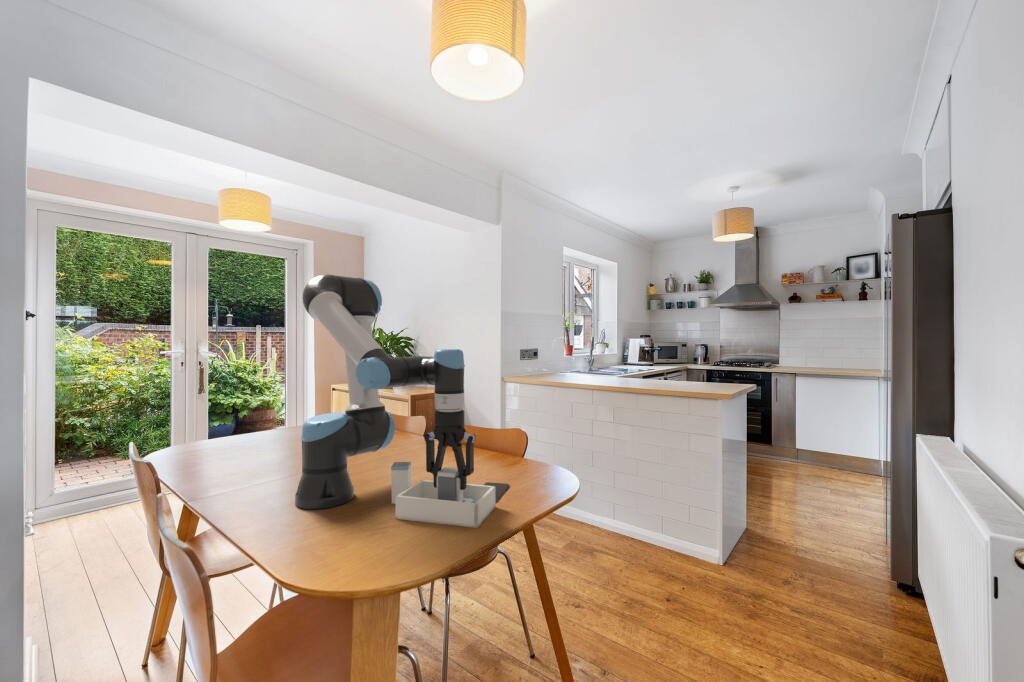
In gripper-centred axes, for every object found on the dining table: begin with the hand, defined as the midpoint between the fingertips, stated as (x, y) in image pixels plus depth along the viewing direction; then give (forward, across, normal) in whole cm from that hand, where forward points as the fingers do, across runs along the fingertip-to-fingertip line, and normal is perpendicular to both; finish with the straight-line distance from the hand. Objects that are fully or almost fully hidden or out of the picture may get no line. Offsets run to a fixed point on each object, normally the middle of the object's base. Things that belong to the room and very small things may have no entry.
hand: (450, 500), depth 112 cm
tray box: (+3, -1, 0) cm, 3 cm away
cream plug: (+3, -17, +5) cm, 18 cm away
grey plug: (+2, 0, 0) cm, 2 cm away
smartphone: (+4, +5, +17) cm, 18 cm away
